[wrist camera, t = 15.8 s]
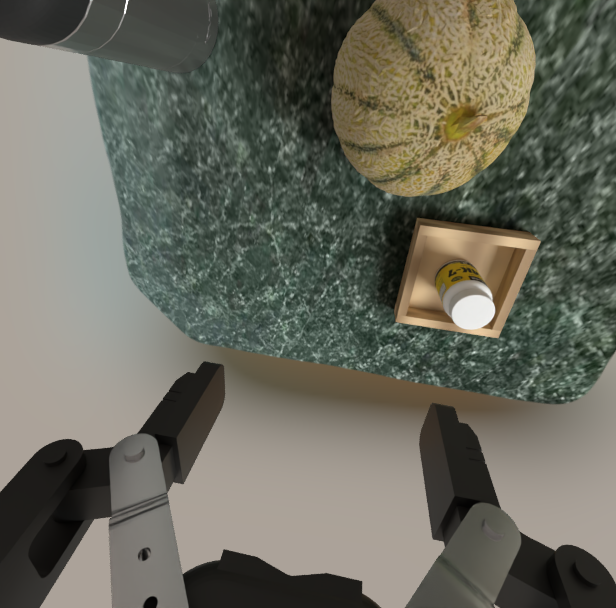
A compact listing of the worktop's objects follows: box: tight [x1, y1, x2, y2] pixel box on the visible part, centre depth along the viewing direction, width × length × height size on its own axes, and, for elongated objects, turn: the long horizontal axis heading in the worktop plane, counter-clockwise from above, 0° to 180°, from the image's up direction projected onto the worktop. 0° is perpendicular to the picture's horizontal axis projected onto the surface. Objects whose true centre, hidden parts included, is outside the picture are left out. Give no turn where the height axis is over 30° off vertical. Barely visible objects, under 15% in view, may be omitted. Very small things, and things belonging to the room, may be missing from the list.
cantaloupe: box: [331, 0, 536, 197], centre depth 27 cm, size 15×15×15 cm
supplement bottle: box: [435, 260, 495, 330], centre depth 37 cm, size 5×5×8 cm
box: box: [394, 218, 541, 338], centre depth 40 cm, size 12×12×3 cm
